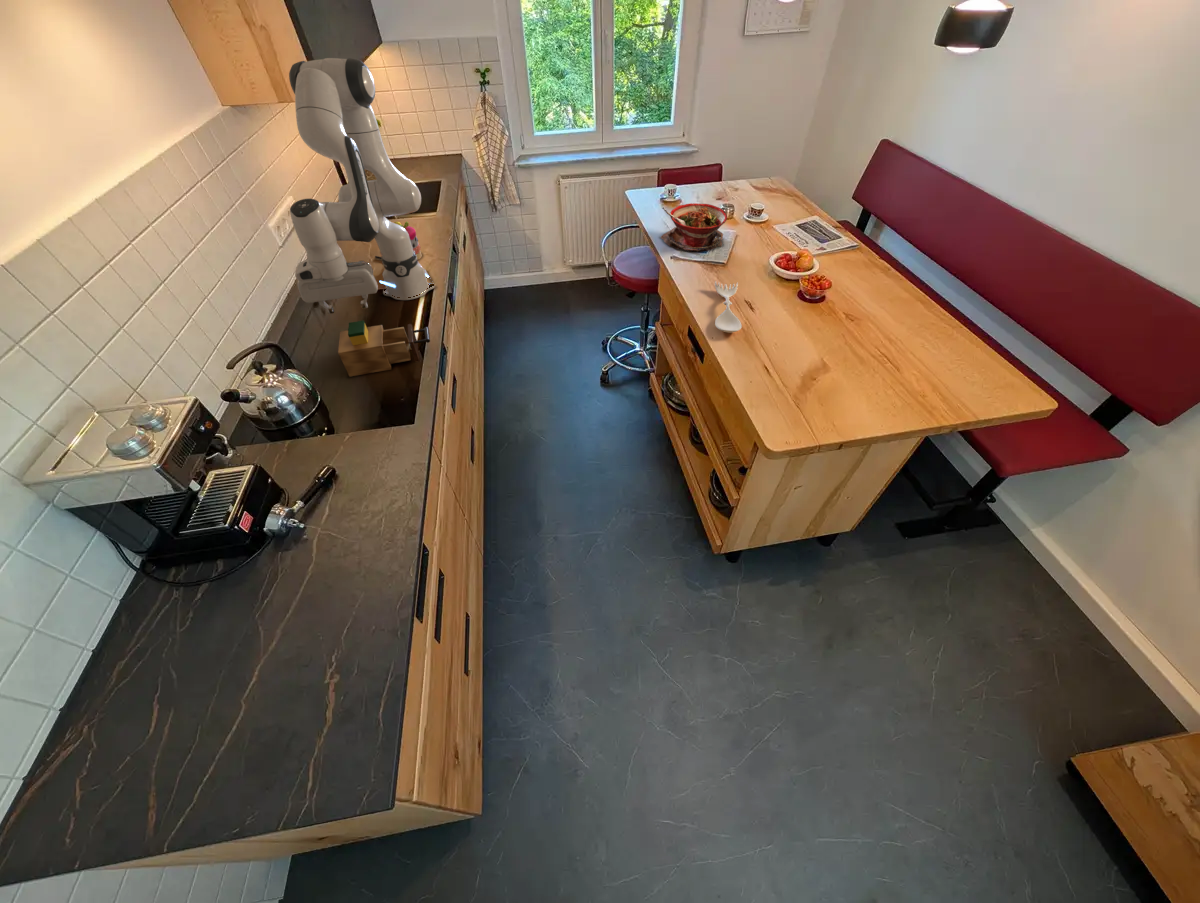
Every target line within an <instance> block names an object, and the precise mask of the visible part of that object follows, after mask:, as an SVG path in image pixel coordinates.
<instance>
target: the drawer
mask: <svg viewBox="0 0 1200 903" xmlns="http://www.w3.org/2000/svg"><path fill="white" fill-rule="evenodd" d="M422 332H423V333H424V339H417V335H416V333H422ZM407 334H408V335H407ZM430 336H431V335H430V328H429V327H428V326H424V328H421V329H414V327H413V324H412V323H409V324H407V333H406V330H405V327H404V326H401V327H395V328H387V329H384V330H383V348H384V351H385V353H386V356H387V358H388V361H389V364H391V365H392V364H398V363H403V362H408V361H409V362H410V361H411V358H412V357H413V359H414V362H416V363H417V362H419V361H420V354H419V344H420V343H427V344H429V343H430V342H431V337H430ZM411 354H412V357H411Z"/></svg>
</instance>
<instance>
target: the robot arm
mask: <svg viewBox="0 0 1200 903" xmlns="http://www.w3.org/2000/svg"><path fill="white" fill-rule="evenodd" d="M288 79H289V85H290V87H291V90H292V92H293V94H294V106H295V120H296V127H297V131H298V134H299V137H300V138H301V140H302V141H303V143H304V144H305V145H306V146H307V147H309V148H310V149H311V150H312V151H314V152H315V153H316V154H318V155H320V156H322V157H325V158H327V159H329V160H333V161H335V162H337V163H340V164H341V165H342V166H343V167H344V171H345V174H346V177H347V181H348V183H347V184H343V185H341V187H340V188H339V190H338V193H337V196H338V197H337V200H338V201H318V200H317V199H315V198H302V199H300V200H297V201H295V202H294V203H292V204H291V205H290V207H289V214H290V219H291V223H292V226H293V228H294V231H295V234H296V236H297V238H298V241H299V242H300V245H301V246H302V247H303V249H304V250H305V253H306V259H304V260H302V261H300V262H299V263H297V265H296V267H295V271H294V276H295V278H296V280H297V284H296V285H297V289H298V292H299V295H300V297H301V299H302V301H303V302H305V303H306V304H313V303H318V304H319V306H321V307H322V308H324V309H325V310H326V312H327V314H328V315H331V314H334V313H335V309H334V306H333V305H332V304H331V305H329V304H328V303H327V302H326V301H332V300H339V299H346V298H352V297H360V296H361V298H362V299H363V300H360V306H361V308H362V309H368V308H369V306H368V302H367V301H368V297H369V295H372V294H377V292H378V290H379V285H378V282H377V280H376V278H375V276H374V269H373V266H372V265H371V263H370V262H367V261H364V260H359V261H350V262H349V261H348V262H347V260H346V257H345V255H344V252H343V249H342V248H341V247H340V245H339V244H338V242H346V241H347V242H348V241H349V242H353V241H355V242H362V243H370V242H372V241H373V240H375V242H376V245H377V247H378V249H379V252H380V255H381V256H379V255H378V256H377V255H375V256H374V258H375V259H378V260H381V263H382V265H383V268H384V270H383V271H382V278H383V280H379V283H380V284H383V285H385V286H386V288H387V289H386V290H385V291H384V290H382V294H383V296H386V297H391V298H392V299H394V300H398V301H410V300H414V299H418V298H421V297H423V296H424V295H426V294H427V293H428V292H429V291H431V290H433V289H434V288H435V285H434V286H432V287H430V288H429V285H430V284H432V283H428V282H427V278H429V277H430V276H429V273H428V271H427V270H426V269H425V268H424V267H423V266H422V264H421V263H420V261H419V260H417V256H416V254H415V252H414V251H413V248H412V244H411V241H410V237H409V234H408V232H407V231H406V230H405V229H404V228H403V227H402V226H400V225H398V224H395V222H392V221H391V220H389V219H388V218H387V217H397V216H406V215H409V214H412V213H415V212H417V211H418V210H419V209H420V207H421V204H422V194H421V192H420V189H419V187H418V186H417V184H416V183H415V182H414V181H413V180H411V179H410V178H408V177H407V176H405V175H404V174H402V172H400V171H399V170H398V169H397V168H396V167H395V165H394V164H393V163H392V161H391V159H390V157H389V155H388V153H387V150H386V147H385V144H384V142H383V139H382V138H383V137H382V135H381V132H380V127H379V124H378V121H377V118H376V115H375V112H374V109H373V107H372V104H373V102H374V100H375V96H376V85H375V80H374V77H373V74H372V71H371V70H370V68H369V67H368V66H367V65H366V63H365V62H363V61H362V60H361V59H358V58H357V59H356V58H351V57H348V58H340V57H339V58H337V57H325V58H322V59H321V58H320V59H312V60H308V61H305V60H301V61H297V62H295V63H293V64H292V65H291V67H290V69H289V72H288ZM366 170H367V171H368V172H370V173H371V174H373V176H374V177H375V178H376V179H373V180H368V178H367V173H366ZM426 277H427V278H426ZM428 284H429V285H428ZM427 288H428V289H427ZM426 289H427V290H426ZM425 290H426V291H425ZM424 291H425V292H424ZM422 292H423V293H422ZM385 293H386V294H385ZM421 293H422V294H421ZM419 294H420V295H419ZM392 295H393V296H392ZM416 295H418V296H416ZM394 296H395V297H394ZM413 296H415V297H413ZM397 297H400V298H397ZM408 297H411V298H408Z"/></svg>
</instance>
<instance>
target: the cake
mask: <svg viewBox="0 0 1200 903" xmlns="http://www.w3.org/2000/svg"><path fill="white" fill-rule="evenodd" d="M394 223H395V224H398V225H400V226H402V227H403V228H404V229H405V230H406V231H407V232H408V234H409V237H410V241H411V244H412V248H413V251H414V252H415V254H416V256H417V260H418V261H419V260H420V259H421V258H422V251H421V245H420V243H419V239H418V237H417V232H416V229H415V228H414V227H412V226H410V224H409V221H405V222H404V224H402V223H401V222H400V221H394Z"/></svg>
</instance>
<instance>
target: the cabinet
mask: <svg viewBox="0 0 1200 903" xmlns="http://www.w3.org/2000/svg"><path fill="white" fill-rule="evenodd" d="M366 327H367V329H368V343H365V344H359V345H352V343H351V340H350V338H349V336H348V329H347V330H341V331H340V332H339V340H338V348H337V354H338V356H339V359H340V360H341V362H342V364H343V366H344V368H345V370H346V373H347V375H348V377H349V378H351V377H356V376H362V375H366V374H367V375H368V374H373V373H378V372H385V371H390V370H392V364H389V361H388V358H387V356H386V353H385V351H384V348H383V330H385V329H384V327H383V324H379V325H372V326H366Z"/></svg>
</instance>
